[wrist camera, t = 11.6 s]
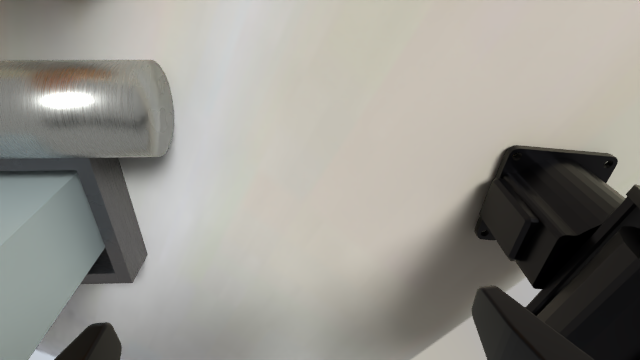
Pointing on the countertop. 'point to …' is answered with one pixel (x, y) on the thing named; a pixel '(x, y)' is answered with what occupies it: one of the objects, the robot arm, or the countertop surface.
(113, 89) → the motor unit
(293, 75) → the countertop surface
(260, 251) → the countertop surface
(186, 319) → the countertop surface
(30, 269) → the grey capped bottle
